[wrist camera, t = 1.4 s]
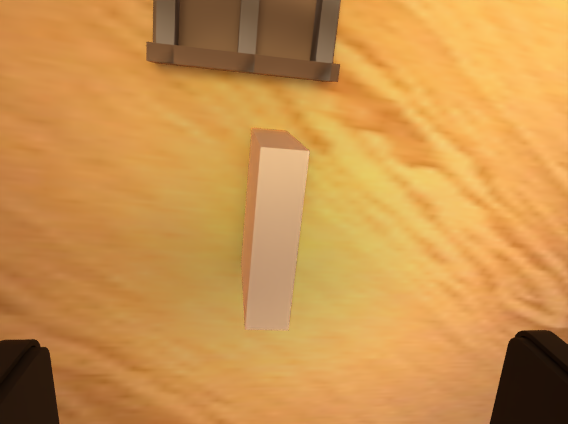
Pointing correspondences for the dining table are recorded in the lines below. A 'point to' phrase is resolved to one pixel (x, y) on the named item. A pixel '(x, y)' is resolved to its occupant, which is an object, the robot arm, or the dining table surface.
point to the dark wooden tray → (248, 36)
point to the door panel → (272, 227)
